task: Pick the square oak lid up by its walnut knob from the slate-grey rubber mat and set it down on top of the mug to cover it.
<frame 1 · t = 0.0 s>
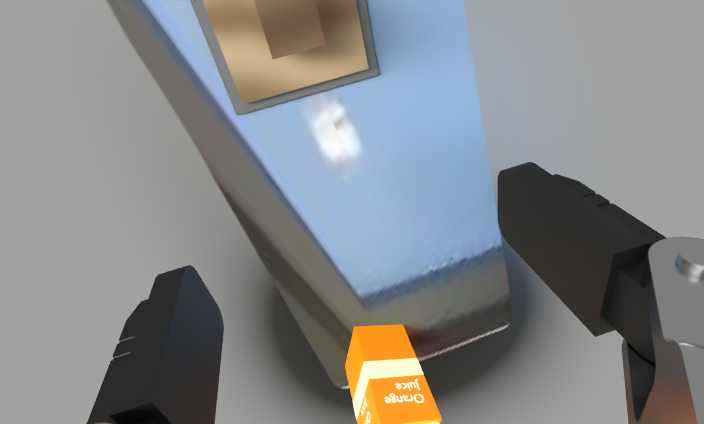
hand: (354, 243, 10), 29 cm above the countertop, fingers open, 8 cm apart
oak lid: (285, 14, 32), resting on rubber mat
rubber mat: (285, 13, 33), on the countertop
orange juice: (372, 344, 58), on the countertop
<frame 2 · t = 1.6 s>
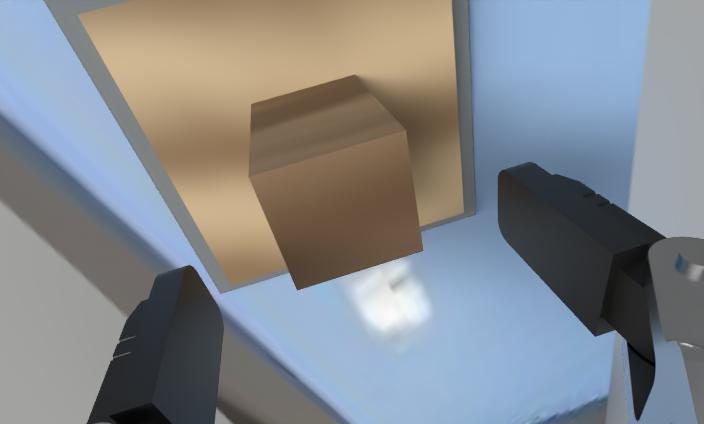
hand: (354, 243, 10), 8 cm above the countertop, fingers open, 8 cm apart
oak lid: (314, 130, 16), resting on rubber mat
rubber mat: (313, 127, 16), on the countertop
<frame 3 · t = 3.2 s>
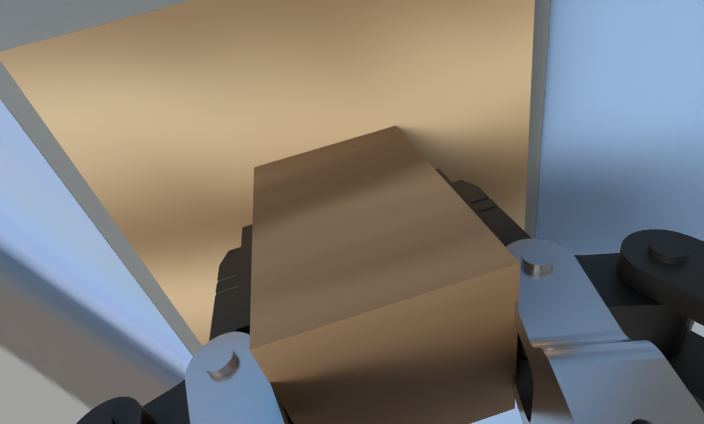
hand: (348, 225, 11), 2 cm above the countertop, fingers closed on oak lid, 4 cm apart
oak lid: (337, 193, 12), resting on rubber mat, touching gripper
rubber mat: (335, 187, 12), on the countertop
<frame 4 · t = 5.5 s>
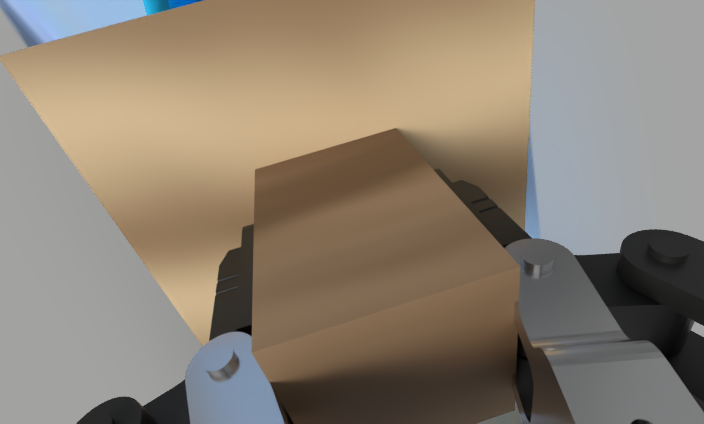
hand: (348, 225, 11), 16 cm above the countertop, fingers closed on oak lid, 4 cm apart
oak lid: (338, 195, 12), point 14 cm above the countertop, touching gripper
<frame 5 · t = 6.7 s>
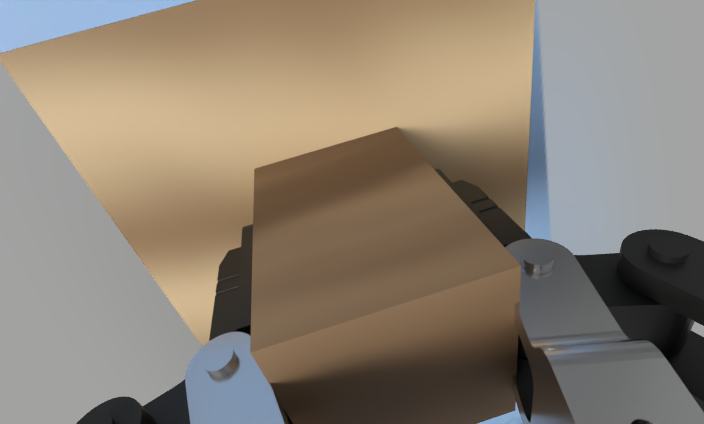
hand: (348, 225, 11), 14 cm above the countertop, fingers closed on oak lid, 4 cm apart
oak lid: (337, 194, 12), point 12 cm above the countertop, touching gripper
when the fingers open (12 cm above the countertop, at t = 7.8 s): oak lid drops 2 cm, resting on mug.
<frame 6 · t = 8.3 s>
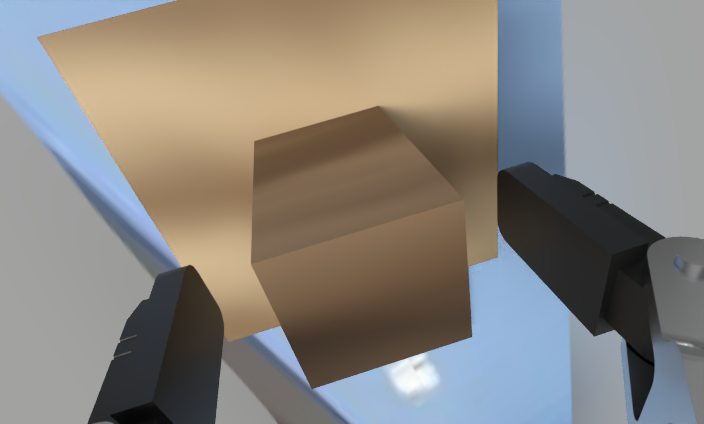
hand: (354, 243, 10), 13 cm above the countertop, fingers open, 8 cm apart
oak lid: (328, 168, 14), point 8 cm above the countertop, touching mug
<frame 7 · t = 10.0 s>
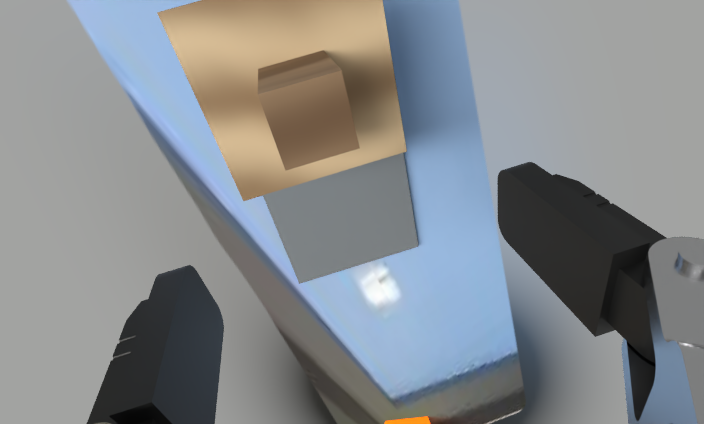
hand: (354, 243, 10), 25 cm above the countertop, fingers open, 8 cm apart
oak lid: (299, 89, 24), point 8 cm above the countertop, touching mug
rubber mat: (344, 212, 39), on the countertop
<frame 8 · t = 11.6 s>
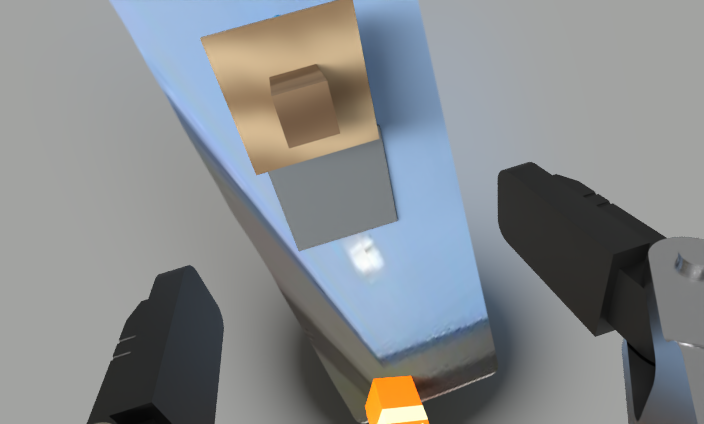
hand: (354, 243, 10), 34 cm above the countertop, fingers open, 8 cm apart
oak lid: (299, 91, 33), point 8 cm above the countertop, touching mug
rubber mat: (335, 191, 48), on the countertop
orange juice: (387, 390, 74), on the countertop
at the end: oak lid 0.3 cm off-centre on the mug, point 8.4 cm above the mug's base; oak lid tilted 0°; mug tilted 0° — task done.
